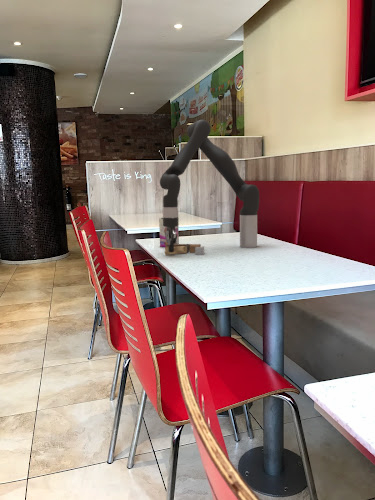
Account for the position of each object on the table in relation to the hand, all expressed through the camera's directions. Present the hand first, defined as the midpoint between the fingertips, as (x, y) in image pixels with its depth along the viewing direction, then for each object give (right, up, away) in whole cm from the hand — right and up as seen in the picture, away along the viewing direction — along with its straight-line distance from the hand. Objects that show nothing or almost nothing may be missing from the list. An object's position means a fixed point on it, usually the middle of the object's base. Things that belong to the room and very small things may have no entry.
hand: (171, 252), depth 208 cm
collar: (+14, -1, +3) cm, 14 cm away
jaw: (+2, -1, +4) cm, 5 cm away
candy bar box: (-2, +2, +27) cm, 27 cm away
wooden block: (+5, 0, +10) cm, 12 cm away
